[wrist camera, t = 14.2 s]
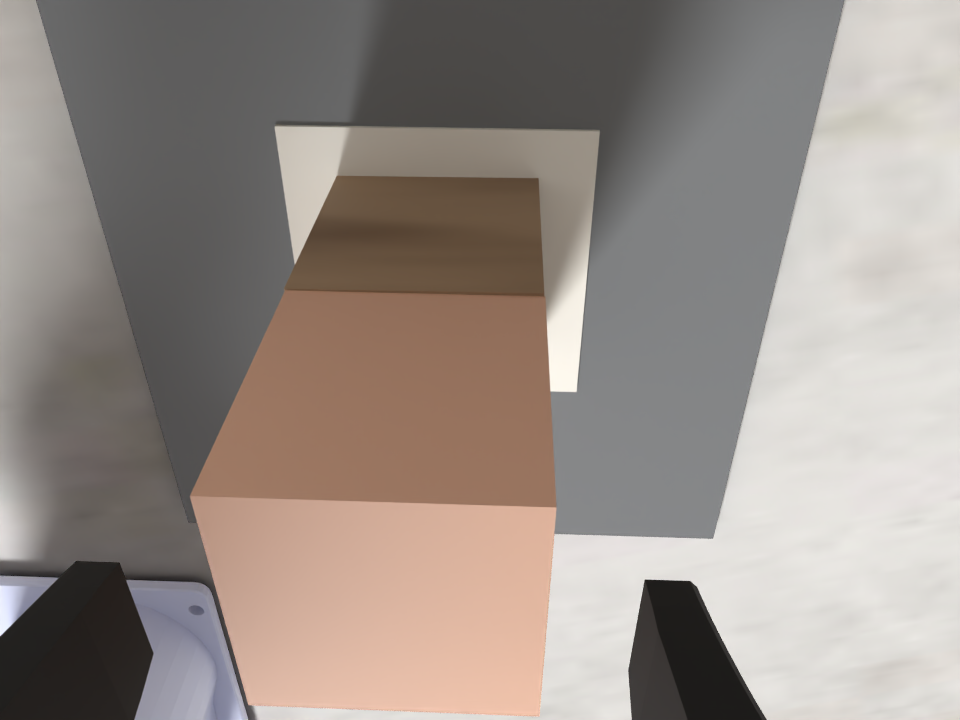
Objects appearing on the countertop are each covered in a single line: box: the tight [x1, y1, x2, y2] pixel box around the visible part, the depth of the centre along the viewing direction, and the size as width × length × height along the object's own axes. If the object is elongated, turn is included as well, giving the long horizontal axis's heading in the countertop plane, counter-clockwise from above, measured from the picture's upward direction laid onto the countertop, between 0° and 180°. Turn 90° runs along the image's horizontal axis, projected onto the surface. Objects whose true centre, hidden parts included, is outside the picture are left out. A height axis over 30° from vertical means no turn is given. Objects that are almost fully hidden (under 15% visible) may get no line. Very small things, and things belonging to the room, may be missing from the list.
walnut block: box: [284, 176, 544, 296], centre depth 17 cm, size 4×4×5 cm
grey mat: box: [36, 0, 844, 539], centre depth 20 cm, size 18×16×1 cm
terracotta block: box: [190, 290, 557, 716], centre depth 13 cm, size 4×4×5 cm
